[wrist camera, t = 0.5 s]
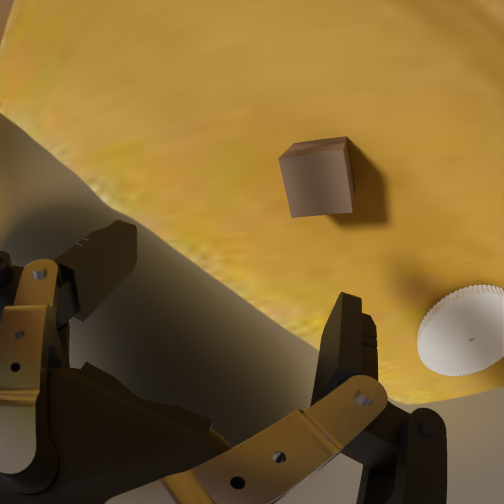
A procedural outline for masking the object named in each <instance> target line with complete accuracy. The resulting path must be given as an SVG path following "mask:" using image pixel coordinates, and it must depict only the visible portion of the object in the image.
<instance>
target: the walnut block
mask: <svg viewBox="0 0 504 504" xmlns="http://www.w3.org/2000/svg"><path fill="white" fill-rule="evenodd" d="M279 163H280V168H281V172H282V176H283V181H284V185H285V190H286V194H287V199H288V203H289V208H290V213H291V217H292V218H294V217H305V216H317V215H329V214H342V213H353V203H354V191H355V186H354V179H353V172H352V166H351V159H350V153H349V147H348V142H347V136H346V137H337V138H329V139H321V140H314V141H307V142H300V143H294V144H293V145H292V146H291V147H290V148H289V149H288V150H287V151H286V152H285V153H284V154H283V155H282V156H281V157H280V158H279Z"/></svg>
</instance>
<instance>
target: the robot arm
mask: <svg viewBox="0 0 504 504" xmlns="http://www.w3.org/2000/svg"><path fill="white" fill-rule="evenodd" d="M136 261H137V228H136V226H135V225H133V224H130V223H127V222H124V221H121V220H117V221H115V222H113V223H112V224H111V225H109V226H108V227H106V228H103V229H100V230H97V231H94V232H92V233H91V234H89V235H88V236H86V237H85V238H84V240H83V239H82V240H81V241H79V242H78V243H77V245H76V244H75V245H74V246H72V247H71V248H70V249H68V250H67V251H66V252H64V253H63V254H62V255H60V256H59V257H58V258H56V259H55V260H54V261H52V260H48V259H39V260H35V261H33V262H31V263H29V264H28V265H26V267H19V266H14V265H12V262H11V258H10V255H9V254H8V253H7V252H4V251H0V504H274V503H276V502H277V501H279V500H280V499H281V498H283V497H285V496H286V495H287V494H289V493H290V492H291V491H293V490H294V489H296V488H297V487H298V486H299V485H301V484H302V483H303V482H305V481H306V480H307V479H309V478H310V477H311V476H312V475H314V474H315V473H316V472H317V471H319V470H320V469H321V468H323V467H324V466H325V465H326V464H327V463H328V462H330V461H331V460H332V459H333V458H334V457H336V456H337V455H338V454H339V453H340V452H341V453H342V454H344V455H346V456H348V457H350V458H352V459H354V460H355V461H357V462H359V463H361V464H363V470H362V476H361V482H360V487H359V493H358V498H357V503H356V504H446V500H447V438H446V427H445V423H444V421H443V419H442V418H441V417H440V416H439V414H437V413H436V412H435V411H433V410H431V409H428V408H418V409H416V410H414V411H413V412H412V413H411V414H410V413H407V412H406V411H403V410H402V409H400V408H398V407H396V406H395V405H393V404H391V403H390V402H389V401H388V400H387V399H388V397H387V393H386V391H385V389H384V387H383V386H382V385H381V384H380V383H379V382H378V353H377V340H376V338H377V332H376V325H375V323H374V321H373V320H372V318H371V316H370V315H367V314H364V313H362V300H361V298H360V297H356V296H353V295H350V294H347V293H344V292H341V293H340V295H339V297H338V299H337V301H336V303H335V305H334V308H333V310H332V312H331V314H330V316H329V318H328V320H327V323H326V325H325V328H324V331H323V334H322V338H321V344H320V351H319V358H318V365H317V370H316V376H315V383H314V388H313V394H312V399H311V405H310V408H308V409H307V410H305V411H302V410H300V409H299V410H296V411H294V412H293V413H291V414H289V415H288V416H286V417H285V418H283V419H281V420H280V421H278V422H277V423H275V424H273V425H272V426H270V427H268V428H267V429H265V430H263V431H262V432H260V433H258V434H257V435H255V436H253V437H251V438H250V439H248V440H246V441H245V442H243V443H241V444H239V445H237V446H236V447H234V448H232V446H231V445H230V444H229V443H228V442H227V441H226V440H225V439H224V438H222V437H221V436H220V435H219V434H218V433H216V432H215V431H213V430H212V425H213V420H212V419H209V418H207V417H204V416H201V415H198V414H196V413H193V412H191V411H188V410H186V409H183V408H181V407H178V406H172V405H167V404H162V403H157V402H152V401H148V400H143V399H140V398H139V397H137V396H136V395H135V394H134V393H132V392H131V391H130V390H129V389H128V388H126V387H125V386H124V385H123V384H122V383H120V382H119V381H118V380H117V379H116V378H115V377H114V376H112V375H110V374H108V373H106V372H104V371H102V370H100V369H99V368H97V367H95V366H93V365H91V364H90V363H88V362H86V363H85V364H84V366H83V367H82V368H81V369H76V368H70V362H69V361H70V357H69V356H70V352H69V351H70V322H69V320H70V319H71V318H72V317H75V318H77V319H79V320H81V321H83V322H84V321H85V320H86V318H87V317H88V316H89V315H90V314H91V313H92V312H93V311H94V310H95V309H96V308H97V307H98V306H99V305H100V304H101V303H102V302H103V301H104V300H105V299H106V298H107V297H108V296H109V295H110V294H111V293H112V292H113V291H114V290H115V289H116V288H117V287H118V286H119V285H120V284H121V283H122V282H123V281H124V280H125V279H126V278H127V277H128V276H129V275H130V274H131V273H132V271H133V270H134V268H135V265H136Z"/></svg>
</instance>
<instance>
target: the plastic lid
mask: <svg viewBox="0 0 504 504" xmlns="http://www.w3.org/2000/svg"><path fill="white" fill-rule="evenodd" d="M417 342H418V352H419V355H420V358H421V361H423V364H425V366H427V368H430V370H433V372H436V373H439V374H443V375H447V376H449V375H451V376H453V375H454V376H457V375H459V376H461V375H463V376H464V375H466V374H467V375H469V374H473V373H477V372H478V371H481V370H484V369H485V368H488V367H489V366H490V365H491V366H492V365H493V364H494V363H496V362H497V361H498V360H500V358H503V357H504V290H503V289H502V288H499V287H498V286H497V287H495V285H493V286H491V285H490V284H489V285H486V284H484V285H481V284H479V285H478V286H477V285H474V286H472V285H471V286H469V287H464V289H462V288H461V289H459V290H458V291H457V290H456V291H455V292H454V293H450V295H446V296H445V298H442V299H441V301H440V302H439V301H438V302H437V304H436V305H434V306H433V308H431V309H430V311H429V312H427V315H426V316H424V319H423V320H422V323H421V324H420V327H419V331H418V335H417Z"/></svg>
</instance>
